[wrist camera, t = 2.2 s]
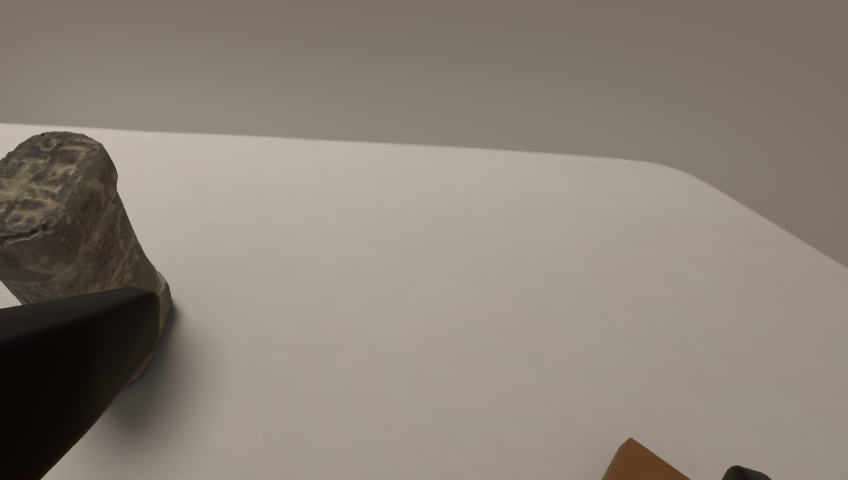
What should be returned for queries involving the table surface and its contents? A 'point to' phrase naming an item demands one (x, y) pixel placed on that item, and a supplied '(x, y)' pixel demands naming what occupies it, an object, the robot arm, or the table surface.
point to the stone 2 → (68, 225)
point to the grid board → (639, 465)
